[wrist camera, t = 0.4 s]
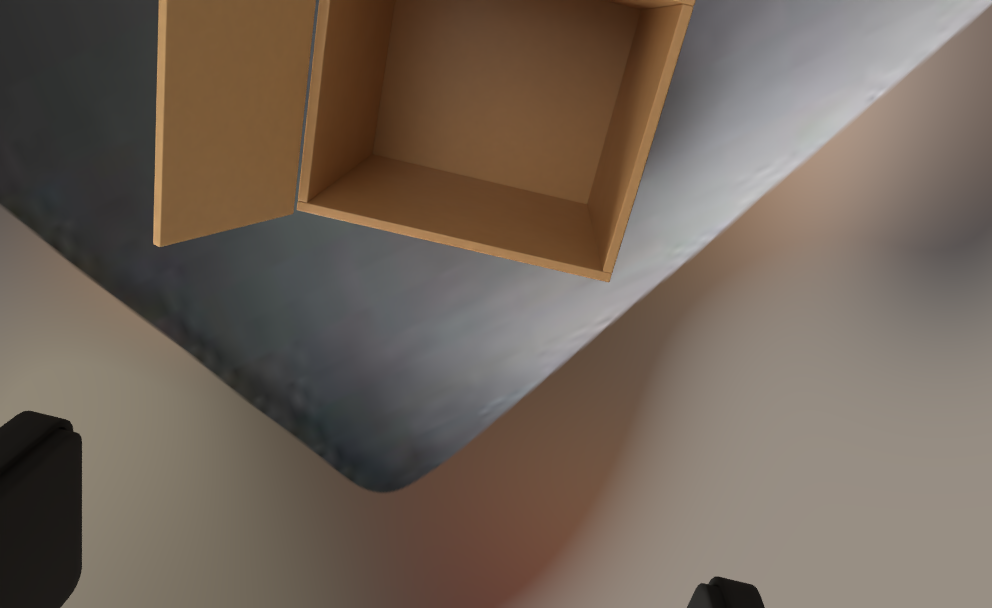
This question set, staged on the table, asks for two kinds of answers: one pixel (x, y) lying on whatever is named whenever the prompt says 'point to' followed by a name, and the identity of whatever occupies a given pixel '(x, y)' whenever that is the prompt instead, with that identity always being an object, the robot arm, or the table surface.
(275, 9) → the flap
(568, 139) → the carton
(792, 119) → the table surface
